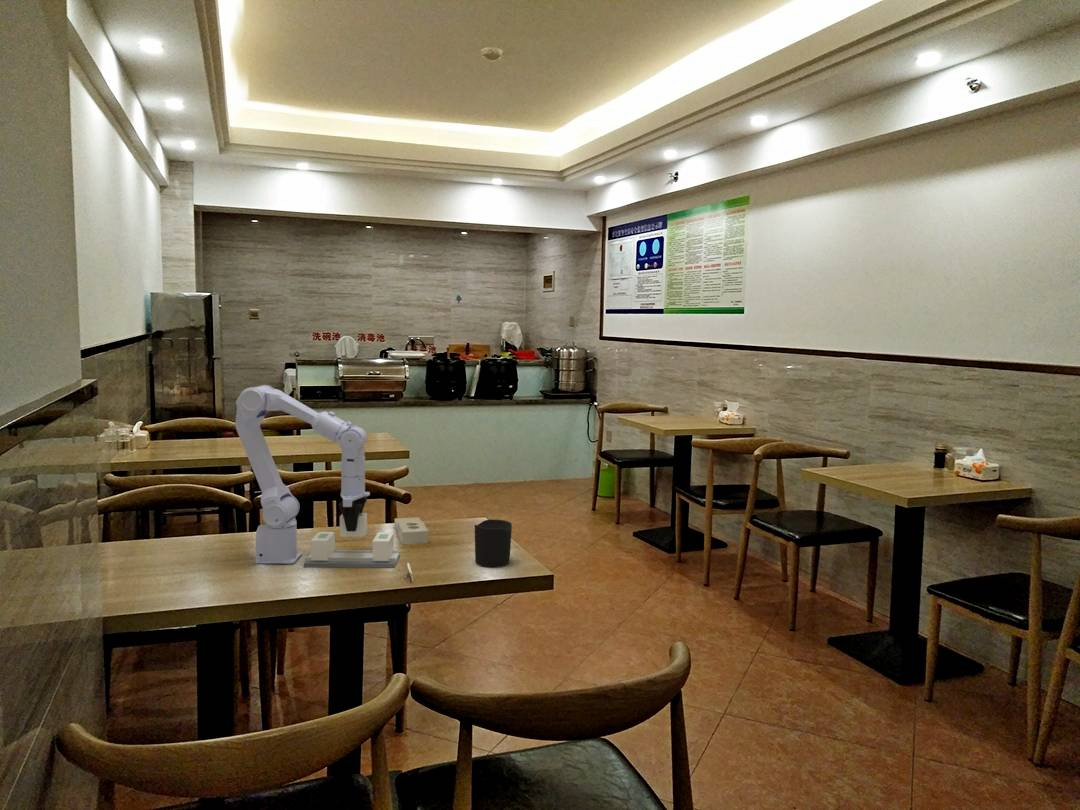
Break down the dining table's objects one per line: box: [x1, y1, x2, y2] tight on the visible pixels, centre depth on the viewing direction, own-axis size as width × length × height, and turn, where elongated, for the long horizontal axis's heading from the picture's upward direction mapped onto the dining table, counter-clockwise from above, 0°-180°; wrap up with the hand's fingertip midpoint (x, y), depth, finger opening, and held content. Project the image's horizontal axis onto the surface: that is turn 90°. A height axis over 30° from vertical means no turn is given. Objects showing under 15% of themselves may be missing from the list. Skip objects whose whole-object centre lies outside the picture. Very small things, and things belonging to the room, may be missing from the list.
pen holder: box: [474, 519, 513, 568], centre depth 189 cm, size 9×9×10 cm
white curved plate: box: [402, 562, 414, 583], centre depth 176 cm, size 4×8×3 cm, turn 15°
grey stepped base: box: [303, 531, 401, 569], centre depth 188 cm, size 22×10×7 cm, turn 93°
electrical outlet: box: [393, 516, 429, 545], centre depth 213 cm, size 7×4×18 cm
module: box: [339, 512, 368, 538], centre depth 187 cm, size 6×4×5 cm, turn 93°
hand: (353, 528), depth 187 cm, fingers closed on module, 4 cm apart
